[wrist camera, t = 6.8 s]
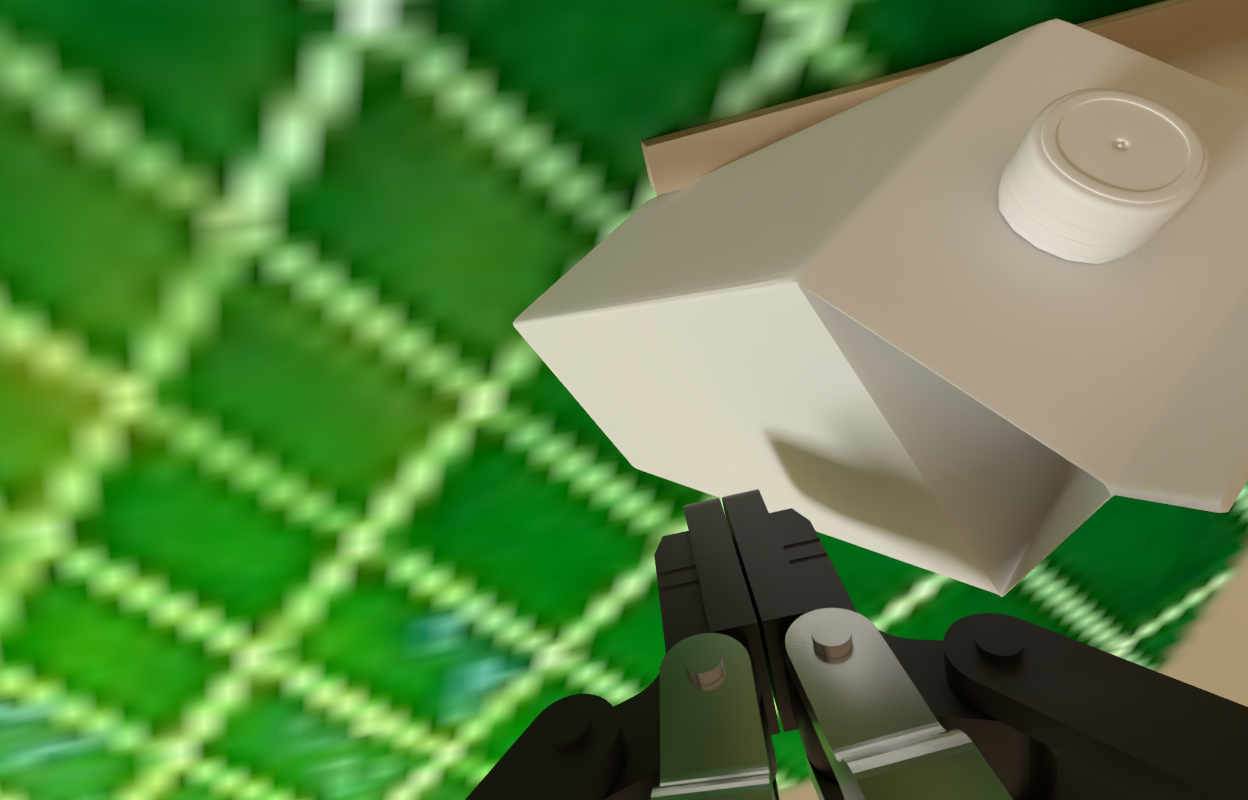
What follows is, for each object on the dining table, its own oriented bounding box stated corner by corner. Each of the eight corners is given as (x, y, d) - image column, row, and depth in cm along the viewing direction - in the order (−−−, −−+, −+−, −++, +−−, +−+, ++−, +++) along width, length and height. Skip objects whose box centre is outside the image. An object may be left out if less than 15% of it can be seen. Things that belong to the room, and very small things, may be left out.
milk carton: (750, 344, 27) (1504, 326, 10) (632, 468, 25) (1313, 708, 8) (648, 198, 25) (1398, -149, 8) (508, 323, 23) (1095, 229, 6)
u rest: (640, 141, 24) (646, 146, 21) (1353, -51, 22) (1478, -76, 19) (708, 443, 29) (721, 484, 26) (1296, 305, 27) (1388, 331, 24)
